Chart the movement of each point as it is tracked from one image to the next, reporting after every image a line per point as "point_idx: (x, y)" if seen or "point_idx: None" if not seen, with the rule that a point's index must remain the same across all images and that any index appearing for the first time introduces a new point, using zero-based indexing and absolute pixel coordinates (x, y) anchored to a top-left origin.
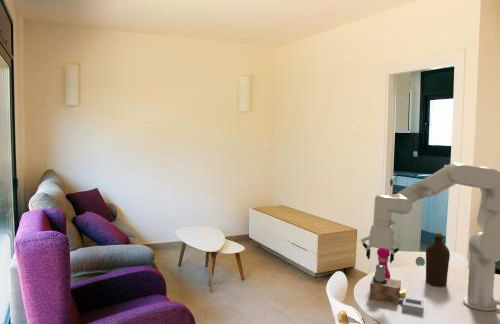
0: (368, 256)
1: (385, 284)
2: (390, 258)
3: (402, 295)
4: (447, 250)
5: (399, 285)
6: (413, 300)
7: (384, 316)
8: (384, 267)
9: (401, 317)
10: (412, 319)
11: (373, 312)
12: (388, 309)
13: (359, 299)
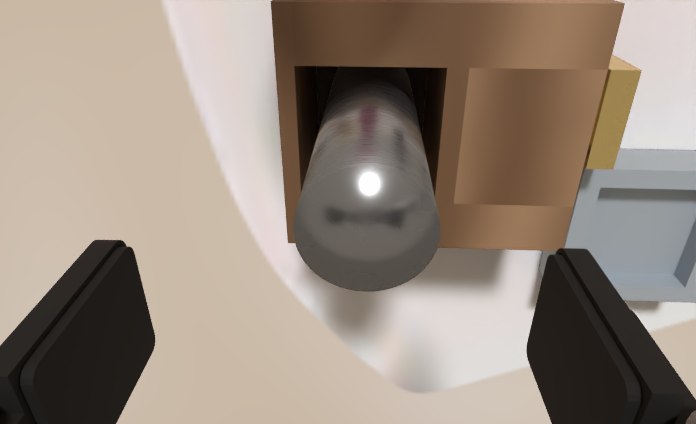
0: (125, 389)
1: None
2: (559, 419)
3: None
4: None
5: (578, 176)
6: (658, 185)
7: (427, 367)
8: (426, 264)
9: (522, 348)
10: None
11: (363, 347)
12: (448, 283)
13: (243, 213)
